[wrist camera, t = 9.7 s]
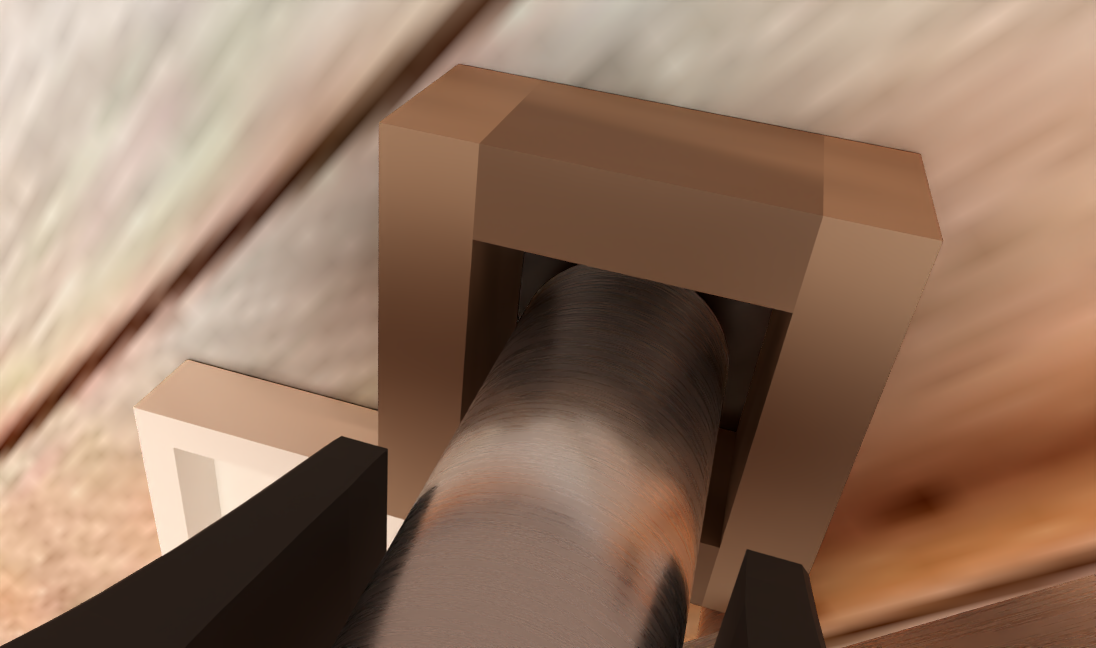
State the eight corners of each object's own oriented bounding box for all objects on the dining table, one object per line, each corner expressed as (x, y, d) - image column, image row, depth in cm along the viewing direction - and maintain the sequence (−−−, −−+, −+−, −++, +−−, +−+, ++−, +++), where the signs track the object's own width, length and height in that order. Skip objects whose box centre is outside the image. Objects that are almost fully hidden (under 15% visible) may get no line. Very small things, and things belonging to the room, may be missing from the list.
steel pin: (726, 489, 15) (631, 1185, 7) (483, 425, 16) (172, 1001, 8) (794, 266, 12) (753, 964, 5) (502, 201, 13) (88, 730, 6)
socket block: (792, 506, 17) (786, 630, 14) (439, 413, 18) (377, 512, 15) (921, 154, 13) (943, 241, 10) (458, 63, 14) (378, 123, 11)
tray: (537, 724, 22) (517, 790, 21) (225, 624, 24) (185, 679, 22) (583, 466, 18) (560, 528, 16) (187, 359, 19) (132, 407, 18)
